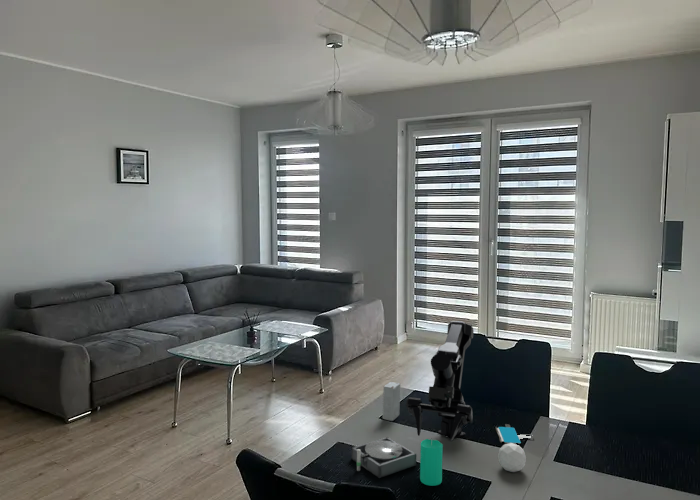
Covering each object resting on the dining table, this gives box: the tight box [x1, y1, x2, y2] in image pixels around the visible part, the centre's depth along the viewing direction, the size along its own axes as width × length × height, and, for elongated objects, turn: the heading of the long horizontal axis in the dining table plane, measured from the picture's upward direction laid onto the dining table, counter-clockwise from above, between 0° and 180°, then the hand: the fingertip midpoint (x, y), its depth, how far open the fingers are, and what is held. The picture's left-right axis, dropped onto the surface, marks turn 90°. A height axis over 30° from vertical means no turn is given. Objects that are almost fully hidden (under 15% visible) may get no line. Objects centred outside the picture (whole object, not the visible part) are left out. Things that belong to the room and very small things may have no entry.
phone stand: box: [495, 423, 531, 445], centre depth 177 cm, size 20×12×2 cm, turn 174°
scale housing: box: [351, 436, 417, 479], centre depth 157 cm, size 16×14×6 cm
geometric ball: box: [497, 443, 527, 473], centre depth 154 cm, size 8×8×8 cm
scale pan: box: [361, 440, 402, 461], centre depth 157 cm, size 14×11×1 cm
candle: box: [419, 437, 444, 487], centre depth 148 cm, size 6×6×12 cm
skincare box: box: [382, 381, 401, 422], centre depth 191 cm, size 6×4×12 cm
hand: (434, 437), depth 151 cm, fingers open, 9 cm apart
